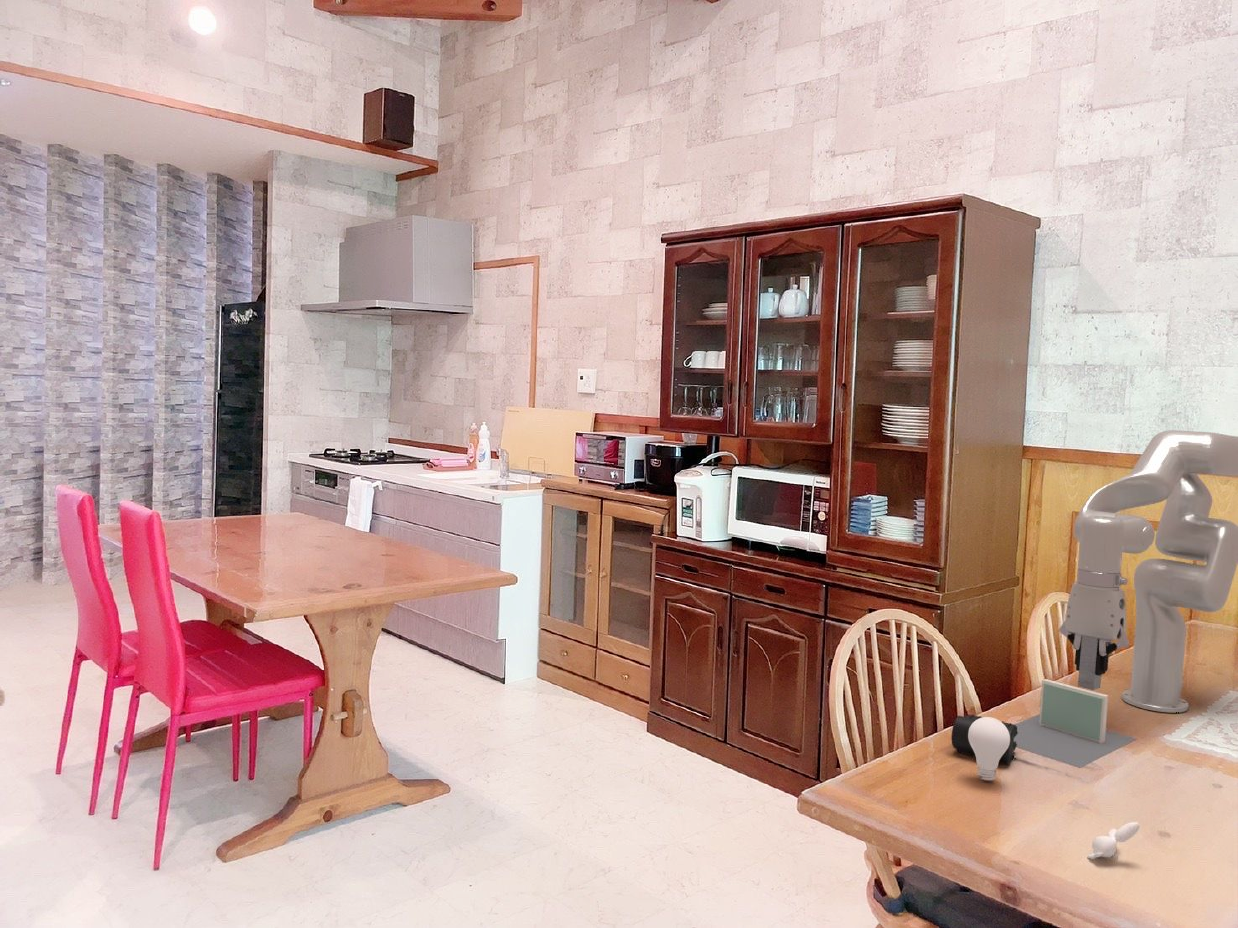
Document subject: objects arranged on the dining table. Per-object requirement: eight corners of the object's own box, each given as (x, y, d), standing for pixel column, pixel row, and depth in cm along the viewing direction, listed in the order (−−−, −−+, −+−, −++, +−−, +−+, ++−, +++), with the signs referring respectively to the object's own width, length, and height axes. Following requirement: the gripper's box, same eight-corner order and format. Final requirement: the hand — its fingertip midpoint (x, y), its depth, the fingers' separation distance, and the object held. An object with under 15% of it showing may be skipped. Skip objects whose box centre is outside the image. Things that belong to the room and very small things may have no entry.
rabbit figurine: (1072, 850, 137) (1109, 819, 140) (1091, 875, 136) (1128, 843, 138) (1094, 846, 132) (1132, 814, 134) (1115, 872, 131) (1152, 838, 133)
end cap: (949, 755, 172) (952, 719, 172) (962, 744, 178) (964, 709, 177) (1007, 770, 166) (1009, 733, 166) (1018, 758, 172) (1020, 722, 171)
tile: (1042, 723, 188) (1045, 678, 187) (1104, 741, 179) (1108, 695, 178) (1038, 724, 187) (1041, 680, 186) (1100, 743, 178) (1104, 696, 177)
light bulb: (987, 792, 157) (992, 727, 156) (956, 776, 162) (960, 714, 162) (1015, 785, 160) (1020, 721, 159) (984, 770, 166) (988, 709, 165)
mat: (1044, 716, 195) (1045, 712, 195) (1137, 743, 181) (1137, 738, 181) (983, 741, 180) (983, 736, 179) (1079, 773, 166) (1079, 767, 166)
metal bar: (1084, 683, 188) (1089, 624, 188) (1100, 687, 186) (1105, 627, 185) (1077, 686, 186) (1082, 626, 186) (1093, 690, 184) (1098, 629, 183)
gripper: (1150, 585, 181) (1142, 679, 182) (1065, 570, 193) (1058, 659, 195) (1134, 589, 176) (1125, 685, 177) (1047, 573, 189) (1040, 664, 190)
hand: (1090, 671), depth 186 cm, fingers closed on metal bar, 3 cm apart
